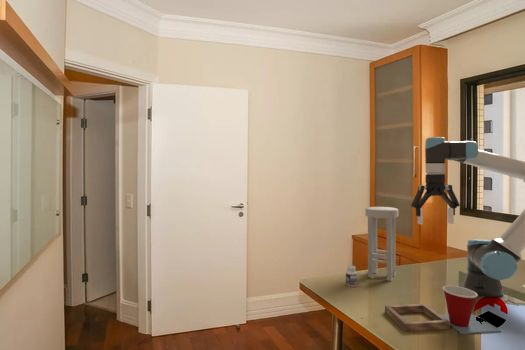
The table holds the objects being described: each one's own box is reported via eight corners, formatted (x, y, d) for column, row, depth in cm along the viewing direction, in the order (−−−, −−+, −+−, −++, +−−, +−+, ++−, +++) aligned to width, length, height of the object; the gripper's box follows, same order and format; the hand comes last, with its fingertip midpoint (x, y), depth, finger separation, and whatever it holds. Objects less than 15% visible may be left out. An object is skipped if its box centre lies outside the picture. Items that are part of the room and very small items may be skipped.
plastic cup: (483, 332, 116) (483, 296, 116) (447, 329, 119) (447, 294, 119) (471, 318, 127) (471, 285, 127) (438, 315, 129) (438, 283, 129)
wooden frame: (424, 310, 136) (424, 303, 136) (450, 328, 120) (450, 321, 120) (384, 312, 135) (384, 305, 135) (405, 331, 119) (405, 324, 119)
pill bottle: (344, 283, 169) (344, 265, 169) (354, 283, 169) (354, 264, 169) (348, 287, 164) (347, 268, 163) (358, 286, 164) (358, 267, 164)
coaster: (472, 314, 131) (472, 313, 131) (501, 331, 118) (501, 330, 117) (437, 316, 130) (437, 315, 130) (461, 334, 116) (461, 332, 116)
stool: (370, 270, 190) (370, 206, 189) (400, 274, 182) (400, 207, 181) (362, 278, 176) (362, 209, 176) (395, 283, 168) (394, 210, 168)
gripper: (457, 173, 153) (457, 221, 153) (402, 174, 151) (403, 223, 151) (468, 173, 145) (469, 224, 146) (411, 174, 143) (411, 225, 144)
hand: (435, 223), depth 148 cm, fingers open, 13 cm apart
